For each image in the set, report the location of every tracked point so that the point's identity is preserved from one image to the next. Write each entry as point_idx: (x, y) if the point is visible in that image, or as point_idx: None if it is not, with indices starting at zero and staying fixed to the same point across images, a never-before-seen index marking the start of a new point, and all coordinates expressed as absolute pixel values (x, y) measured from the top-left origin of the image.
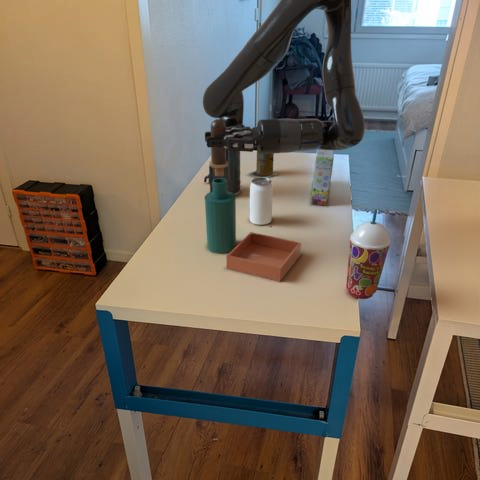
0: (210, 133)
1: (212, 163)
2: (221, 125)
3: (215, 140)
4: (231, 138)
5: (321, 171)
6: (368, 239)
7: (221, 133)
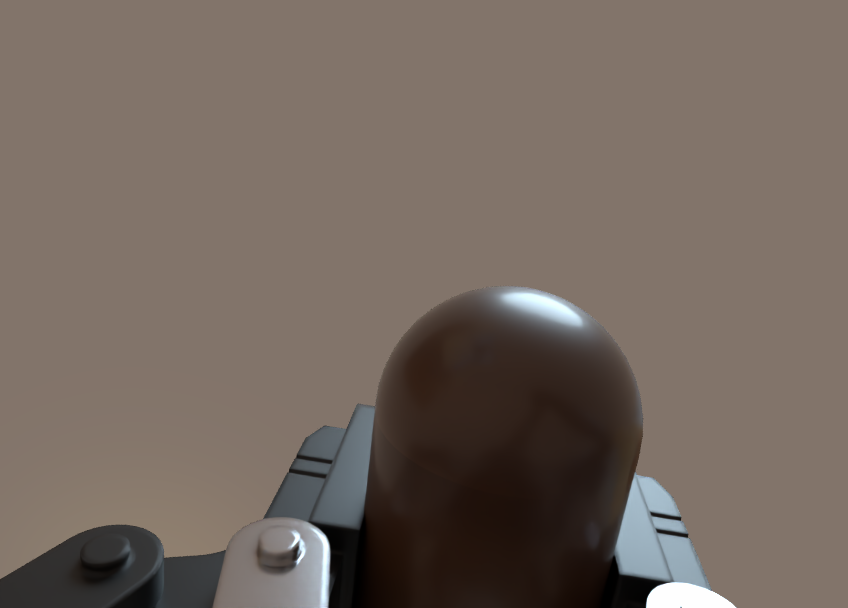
0: None
1: None
2: (397, 370)
3: (292, 471)
4: (89, 582)
5: None
6: None
7: (372, 486)
